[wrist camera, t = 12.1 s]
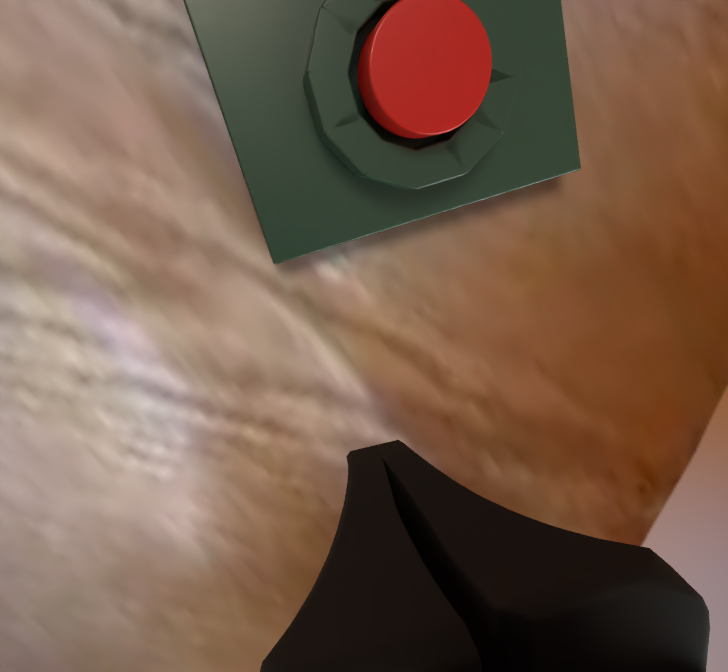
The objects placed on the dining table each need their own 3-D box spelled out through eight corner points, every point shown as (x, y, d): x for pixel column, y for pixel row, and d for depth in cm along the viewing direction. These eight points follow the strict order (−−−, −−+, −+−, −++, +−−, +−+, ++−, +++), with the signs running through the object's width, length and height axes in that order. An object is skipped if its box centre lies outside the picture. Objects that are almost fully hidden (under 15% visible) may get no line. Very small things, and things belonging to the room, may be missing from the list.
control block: (273, 257, 20) (275, 274, 16) (182, -7, 17) (163, -51, 13) (557, 169, 21) (612, 169, 17) (521, -94, 18) (580, -154, 14)
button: (374, 152, 16) (387, 149, 15) (342, 26, 15) (352, 9, 13) (479, 121, 17) (502, 116, 15) (456, -4, 15) (479, -25, 14)
